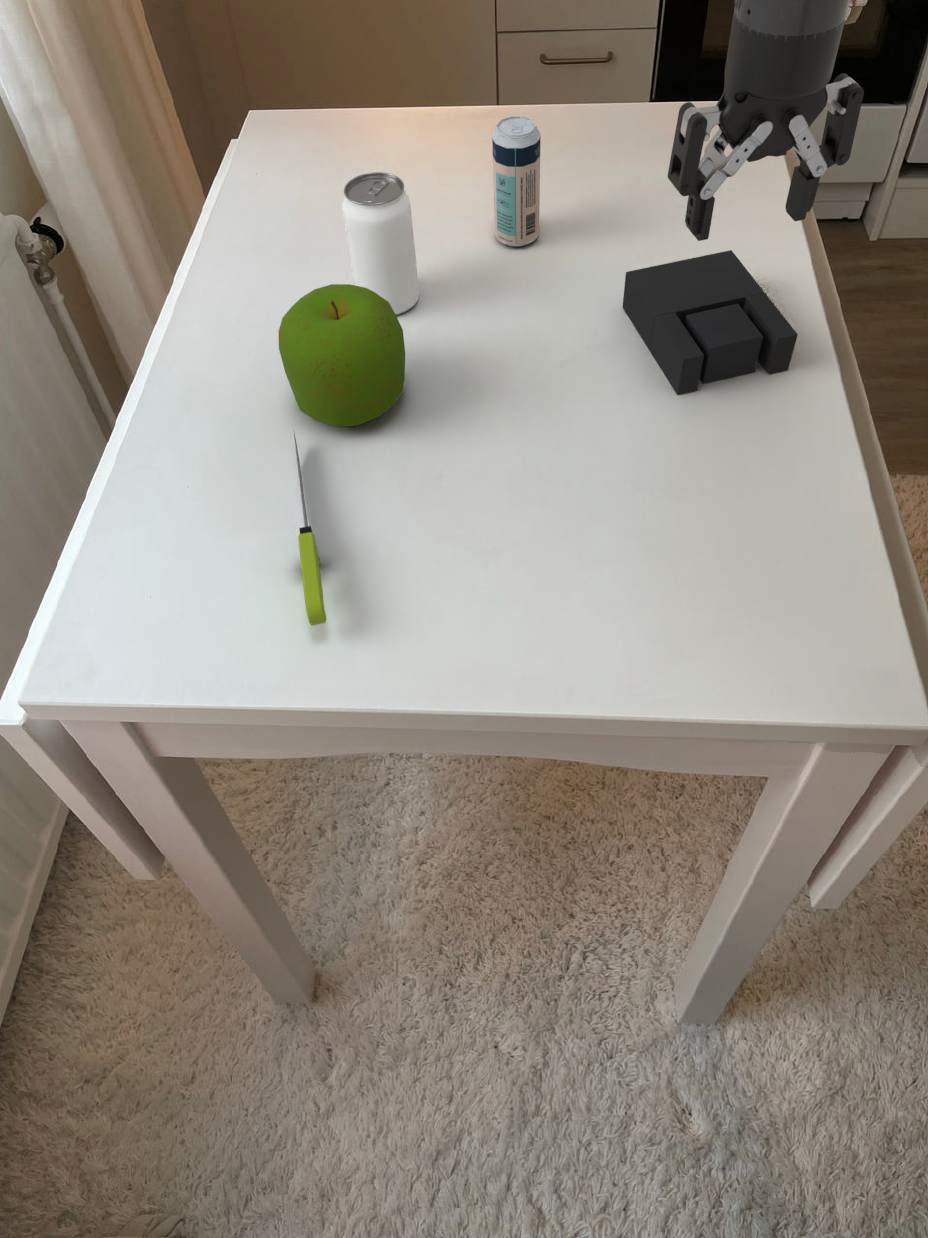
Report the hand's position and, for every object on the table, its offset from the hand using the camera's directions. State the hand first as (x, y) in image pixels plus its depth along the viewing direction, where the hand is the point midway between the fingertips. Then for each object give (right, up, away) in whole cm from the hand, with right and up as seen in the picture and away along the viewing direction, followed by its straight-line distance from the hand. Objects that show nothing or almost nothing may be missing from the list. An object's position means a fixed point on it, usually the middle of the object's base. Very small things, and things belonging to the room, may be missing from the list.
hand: (746, 225), depth 79 cm
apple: (-34, -12, +10) cm, 37 cm away
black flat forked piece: (0, -5, +13) cm, 14 cm away
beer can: (-18, +9, +25) cm, 32 cm away
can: (-31, 0, +19) cm, 37 cm away
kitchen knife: (-36, -26, +1) cm, 44 cm away
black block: (+1, -8, +11) cm, 14 cm away
